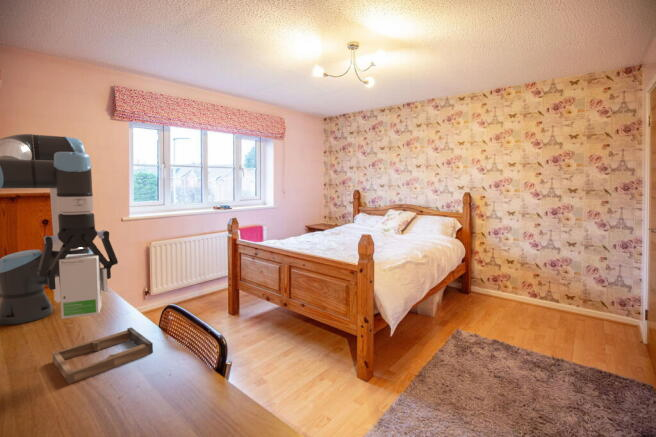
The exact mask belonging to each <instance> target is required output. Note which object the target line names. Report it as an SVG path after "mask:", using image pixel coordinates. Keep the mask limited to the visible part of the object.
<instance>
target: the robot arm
mask: <svg viewBox="0 0 656 437" xmlns="http://www.w3.org/2000/svg"><path fill="white" fill-rule="evenodd" d="M92 166H93V165H92V164H91V156H90V155H89V154H88V153H86V150H85V146H84V144H83V142H82V140H81V139H79V138H77V137H70V136H69V137H68V136H59V135H58V136H56V135H43V134H30V133H22V134H13V135H10V136H9V135H8V136H5V137H2V138H0V190H1V189H4V190H5V189H6V190H7V189H8V190H9V189H14V190H15V189H49V196H50V208H51V209H50V210H51V222H52V234H53V235H44V236H43V239H42V240H43V244H44V246H43V249H42V250H41V249H28V250H23V251H18V252H14V253H13V252H12V253H10V254H7V255H4V256H3V257H1V258H0V325H5V326H6V325H7V326H9V325H11V326H12V325H21V324H26V323H29V322H33V321H36V320H40V319H43V318H45V317H47V316H49V315H51V314H52V313H53V304H52V303H51V301H50V298H49V297H48V295H47V294H46V292H45V286H48V289H49V290H50V291H53V298H54V301H55V302H56V303H61V297H60V273H59V260H61V259H65V257H66V256H67V255H73V254H95V255H99V260H100V265H102V266H100V271H101V292H103V293H107V292H109V289H108V280H110V279H111V278H112V274H111V271H112V270H111V269H112V267H113V266H114V265H118V263H119V261H118V258H117V256H116V253H115V251H114V249H113V245H112V243H111V241H110V231H108V230H105V229H103V230H97V229H96V224H95V223H96V220H95V214H94V213H93V212H92V211H94V210H95V208H94V197H93V196H94V194H93V178H92V169H93V168H92ZM97 236H98V238H99V239H100V240H101V242H102V245H103V247H104V250H105V253H106V254H107V257H108V259H107V258H106V256H104V254H103V253H102V252H101V250H100V249H99V248H98V246H96V244H95V242H94V240H95V239H96V237H97Z"/></svg>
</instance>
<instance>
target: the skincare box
mask: <svg viewBox="0 0 656 437" xmlns="http://www.w3.org/2000/svg"><path fill="white" fill-rule="evenodd" d="M100 267H101V262H100V260H99V255H95V254H73V255H67V256H66V257H65V259H61V260H59V273H60V283H59V284H60V297H61V302H60V312H61V313H60V314H61V319H63V320H64V319H72V318H78V317H79V318H81V317H86V316H87V317H88V316H95V315H96V316H97V315H99V314H100V311H101V309H102V290H101V271H100Z"/></svg>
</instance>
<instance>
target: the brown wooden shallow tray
mask: <svg viewBox="0 0 656 437" xmlns="http://www.w3.org/2000/svg"><path fill="white" fill-rule="evenodd" d="M128 341H132V343H134V344H135V345H136V346H134V347H130V348H129V349H126V350H122V351H120V352H119V351H118V352H117V353H115V354H114V353H113V354H109V355H108V356H107V357H106V358H105V359H102V360H99V361H96V362H93V363H90V364H88V365H85V366H82V367H79V368H76V369H72V368H71V367H70V365H69V364H68V363H67V361H66V360H68V359H70V358H75V357H77V356H80V355H83V354H86V353H89V352H100V350H101V351H102V349H106V348H109V347H112V346H116V345H118V344H122V343H124V342H128ZM153 347H154V346H153V342H152V341H151V340H149V339H148V338H146V337H145V336H144V335H142V334H141V333H140V332H139V331H137V330H136V329H134V328H133V327H132V326H131V327H127V328H126V330H123V331H120V332H115V333H113V334H109V335H107V336H103V337H100V338H96V339H93V340H90V341H87V342H83V343H80V344H77V345H75V346H74V345H73V346H70V347H67V348H64V349H61V350H60V349H59V350H58V351H57V350H56V351H54V352H52V354H51V355H52V362H53V364H54V365H55V366H56V368H57V370H58V371H59V372H60V374H61V375H62V377H63V378H64V380H65V381H66V382H67V383H68V385H69V384H70V385H71V384H73V383H75V382H78V381H81V380H83V379H86V378H89V377H91V376H94V375H96V374H99V373H103V372H105V371H107V370H111V369H113V368H115V367H119V366H121V365H124V364H127V363H128V362H133V361H135V360H137V359H140V358H142V357H145V356H147V355H150V354H153V353H154V348H153Z"/></svg>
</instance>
